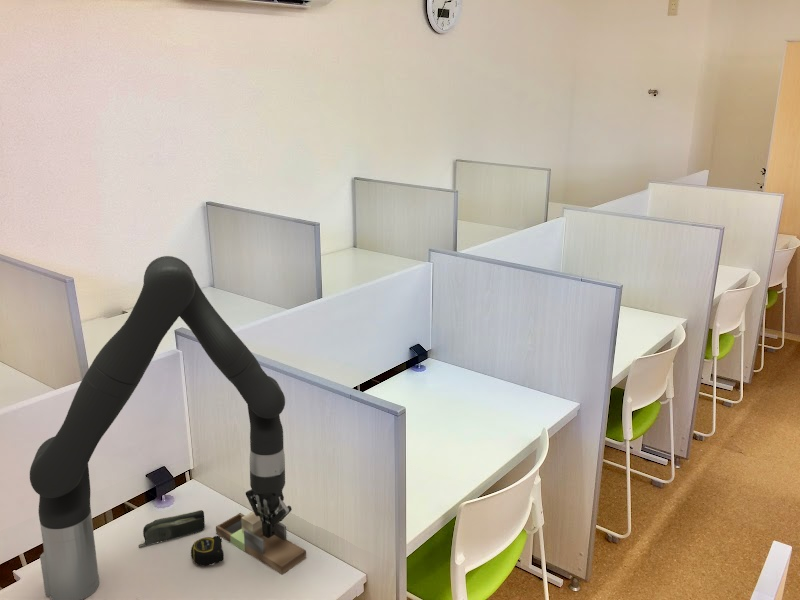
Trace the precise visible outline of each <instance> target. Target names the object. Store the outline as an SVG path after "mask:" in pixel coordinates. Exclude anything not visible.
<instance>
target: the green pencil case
mask: <svg viewBox="0 0 800 600" xmlns="http://www.w3.org/2000/svg"><path fill="white" fill-rule="evenodd" d="M205 527H206V526H205V511H204V510H202V509H201V510H196V511H192V512H188V513H187V512H186V513H183V514H178V515H175V516H168V517H162V518H157V519H155V520H154V521H151V522H149V523H147V524H145V525H144V527H143V531H142V533H143V535H142V536H143V539H144V542H143V543H140V544H138V548H143V547H147V546H149V545H150V546H151V545H153V544H158V543H157V542H159V543H161V541H162V542H166V540H167V541H169V540H170V541H171V540H174V539H177V538H183V537H186V536H190V535H193V534H199V533H201V532H202V531H203V530H205Z"/></svg>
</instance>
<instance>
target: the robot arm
mask: <svg viewBox="0 0 800 600" xmlns="http://www.w3.org/2000/svg"><path fill="white" fill-rule="evenodd" d="M143 274H144V275H143V285H142V288H141V290H140V293H139V296H138V297H137V300H136V302H135V304H134V306H133V307H132V310H131V312H130V314H129V316H128V317H127V319H126V321H124V323H123V325H122V326H121V327H120V329H118V330H117V331H116V332H115V334H114V335H113V336H111V337H110V338H109V340H108V341H107V342H106V343H105V344H104V345H103V347H102V348H101V349H100V350H99V352H98V354H97V355H96V356H95V358H94V359H93V361H92V363H91V364H90V366H89V368H88V369H87V371H86V372H85V374H84V376H83V377H82V380H81V381H80V383H79V386H78V388H77V389H76V392H75V394H74V396H73V399H72V401H71V404H70V406H69V409H68V410H67V414H66V416H65V418H64V421H63V423H62V424H61V426H60V428H59V430H58V431H57V433H56V435H55V436H52V437H49V438H48V439H46V440H45V441H44V442H42V444H41V445H40V446H39V447H38V449H37V450H36V453H35V455H34V458H33V461H32V462H31V466H30V469H29V482H30V485H31V487H32V489H33V491H34V492H35V493H36V494H37V495H38V496H39V501H38V517H39V524H40V531H41V538H42V546H43V547H42V548H43V552H42V553H41V554H40V556H39V560H40V566H41V573H42V580H43V587H44V594H45V597H50V598H51V599H52V600H84V599H86V598H89V597H90V596H91V595H92V594H94V593H95V592H96V590H97V589H98V587H99V584H100V578H99V576H100V574H99V569H98V561H97V560H98V559H97V551H96V542H95V533H94V525H93V518H92V509H91V508H92V507H91V482H90V471H89V462H90V460H91V457H92V456H93V453H94V451H95V450H96V447H97V446H98V444H99V442H100V441H101V440H102V438H103V436H104V435H105V433H106V432H107V431H108V429H109V428H110V427H111V426H112V424H113V423H114V421H115V420H116V418H117V417H118V415H119V414H120V413H121V412H122V410H123V408H124V406H125V405H127V403H128V401H129V399H130V398H131V396H132V395H133V393H134V392H135V390H136V388H137V387H138V385H139V384H140V382H141V380H142V378H143V376H144V374H145V372H146V371H147V369H148V368H149V365H150V364H151V362H152V360H153V358H154V357H155V354H156V352H157V350H158V348H159V346H160V344H161V342H162V341H163V339H164V337H165V336H166V335H167V334H168V332H169V331H170V329H171V328H172V327H173V325H174V324H175V323H176V322H177V320H178V319H179V318H180V319H181V321H183V322H184V323H185V324H186V326H187V327H188V328H189V329H190V330H191V333H192V334H193V335H194V336H195V338H196V340H197V341H198V342H199V344H200V345H201V347H202V349H203V350H204V351H205V353H206V355H207V356H208V357H209V358H210V360H211V361H212V363H213V364H214V365H215V366H216V368H217V369H218V370H219V371H220V372H221V374H223V376H224V377H225V378H226V379H227V380H228V381H229V382H230V383H232V385H233V386H234V388H235V389H236V390H237V392H238V393H239V394H240V395H241V397H242V399H243V400H244V402H245V403H246V404H247V411H248V420H249V425H250V429H249V446H250V451H249V486H250V489H249V490H247V491H246V492H245V496H246V498H247V501H248V503H249V505H250V507H251V509H252V511H254V513H255V515H256V516H259V517H260V520H261V521H262V531H263V536H265V537H267V538H270V537H272V536H273V535H274V534H275V524H277V523H278V522H280V523H281V522H282V521H283V520H284V519H285V518H286V516H288V515H289V514H290V512H292V506H291V505H288V506H287V505H286V503H285V502H284V500H285V496H284V494H283V490H284V488H285V486H286V455H285V451H284V450H285V449H284V429H283V425H282V421H281V418H280V415H281V413H283V410H284V409H285V406H286V397H285V393H284V392H283V390H282V388H281V385H279V383H278V382H277V380H276V379H274V378H273V377H271V376H270V375H268V374H267V373H266V372H265V371H264V370H263V368H262V366H261V364H260V363H259V361H258V360H257V358H256V357H255V355H254V354H253V353H252V352H251V351H250V349H249V347H248V346H247V345H246V344H245V342H244V341H242V339H240V337H239V336H238V334H236V333H235V331H234V330H233V329H232V328H231V327H230V326H229V325H228V324H227V323H226V321H225V320H224V319H223V318H222V317H221V315H220V314H219V313H218V312H217V310H216V309H215V308H214V306H213V305H212V303H211V302H210V301H209V299H208V298H207V297H206V295H205V294H204V292H203V289H201V287H200V286H199V284H198V282H197V280H196V278H195V276H194V274H193V270H192V268H191V267H190V265H188V264H187V263H186V262H185V261H184V260H183V259H181V258H179V257H176V256H173V255H172V256H171V255H164V256H160V257H159V256H158V257H157V258H155V259H154V260H152V261H151V262H149V264H148V265H147V267H146V269H145V272H144V273H143Z"/></svg>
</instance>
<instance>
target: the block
mask: <svg viewBox="0 0 800 600" xmlns="http://www.w3.org/2000/svg"><path fill="white" fill-rule="evenodd" d="M244 515H245V516H243V517H242V518H241V520H242V533H243V534H244V530H248V531H250V532H251V533H253V534H255V535H257V536H258V537H259V536H260V535H262V534H263V531H262V521H261V520H260V517H259V516H256V515H255V513H254V511H253V510H252V511H251V512H249V513H247V514H244Z"/></svg>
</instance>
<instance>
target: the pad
mask: <svg viewBox="0 0 800 600" xmlns="http://www.w3.org/2000/svg"><path fill="white" fill-rule="evenodd" d="M230 541H231V543H230V544H232V545H233V546H235V547H236V548H238V549H239V550H242V551H243V552H245V544H244V534H243V533H242V529H240V530H238V531H237V532H235V533H233V534H232V535H230Z"/></svg>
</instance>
